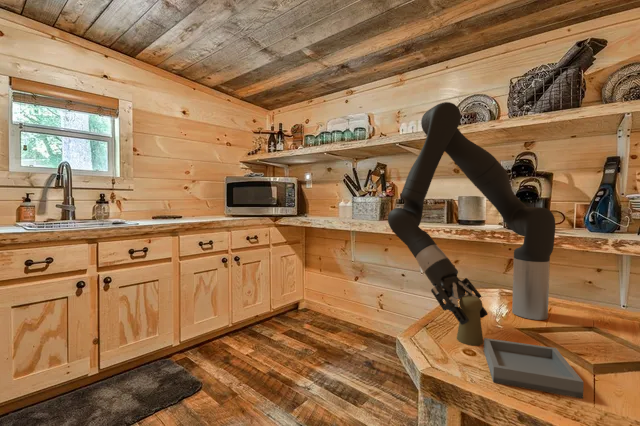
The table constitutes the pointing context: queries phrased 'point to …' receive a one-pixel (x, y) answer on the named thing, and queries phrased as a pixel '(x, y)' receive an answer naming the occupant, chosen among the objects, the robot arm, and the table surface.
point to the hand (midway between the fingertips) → (475, 319)
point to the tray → (531, 367)
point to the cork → (471, 321)
